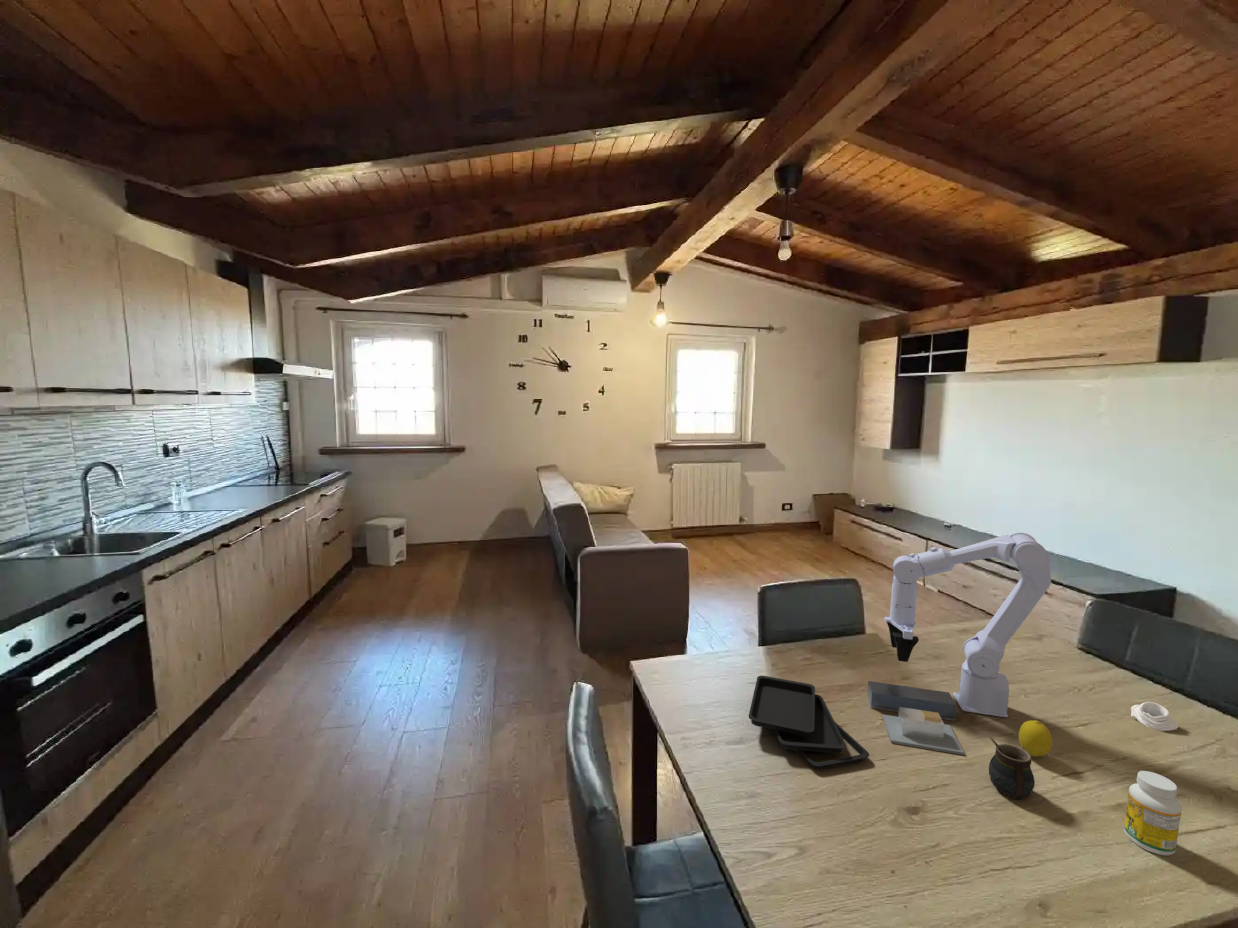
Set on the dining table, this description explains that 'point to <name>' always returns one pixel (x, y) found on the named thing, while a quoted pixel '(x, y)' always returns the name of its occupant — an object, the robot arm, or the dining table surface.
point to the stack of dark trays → (800, 720)
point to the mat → (948, 744)
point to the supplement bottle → (1153, 813)
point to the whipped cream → (1154, 716)
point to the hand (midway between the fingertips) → (899, 653)
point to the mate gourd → (1011, 771)
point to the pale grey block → (921, 724)
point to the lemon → (1035, 738)
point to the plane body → (910, 699)
